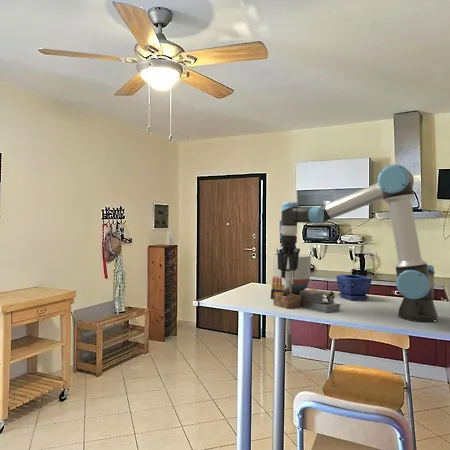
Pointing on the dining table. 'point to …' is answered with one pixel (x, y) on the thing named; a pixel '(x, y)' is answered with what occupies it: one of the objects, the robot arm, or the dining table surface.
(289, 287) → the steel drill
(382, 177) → the robot arm
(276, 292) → the ammunition clip
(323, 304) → the socket block
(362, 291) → the flower pot
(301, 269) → the planter
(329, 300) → the valve
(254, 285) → the dining table surface
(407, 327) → the dining table surface
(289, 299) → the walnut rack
